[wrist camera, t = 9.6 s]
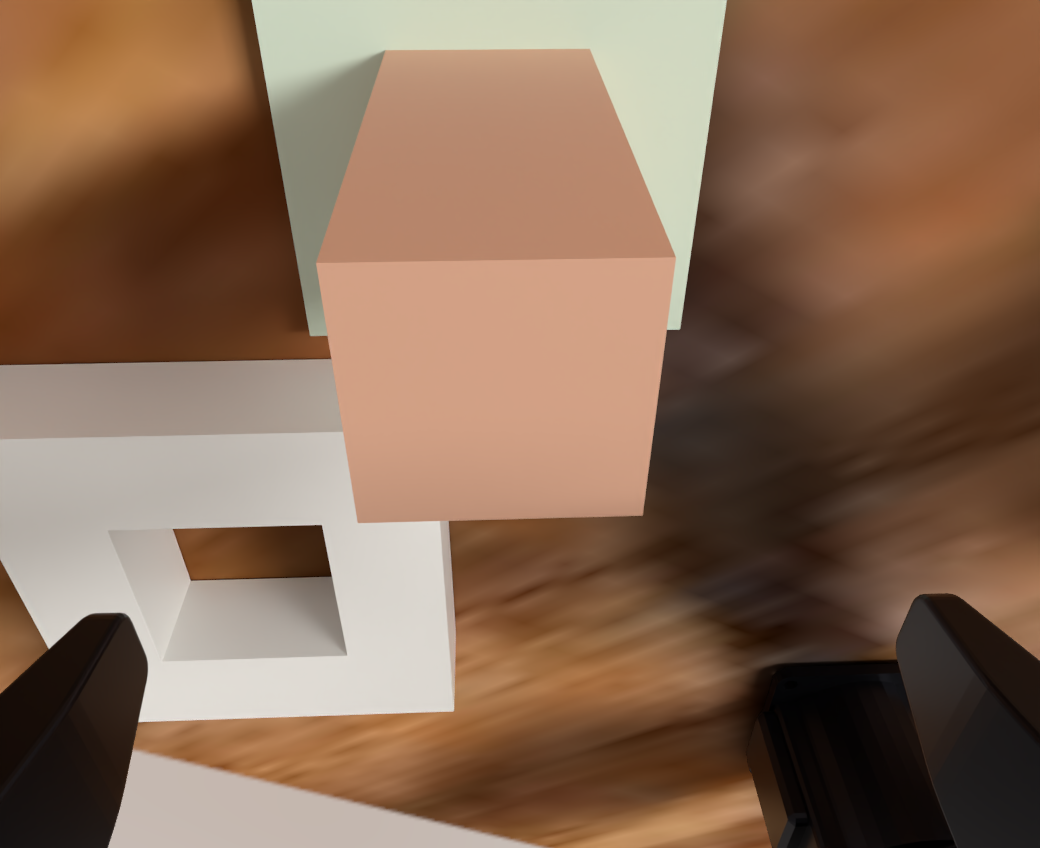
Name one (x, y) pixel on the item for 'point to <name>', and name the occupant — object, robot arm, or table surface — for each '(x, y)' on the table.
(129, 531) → the white square frame
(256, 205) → the table surface
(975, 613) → the robot arm
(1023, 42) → the table surface
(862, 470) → the table surface
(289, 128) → the pad
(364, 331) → the plug
